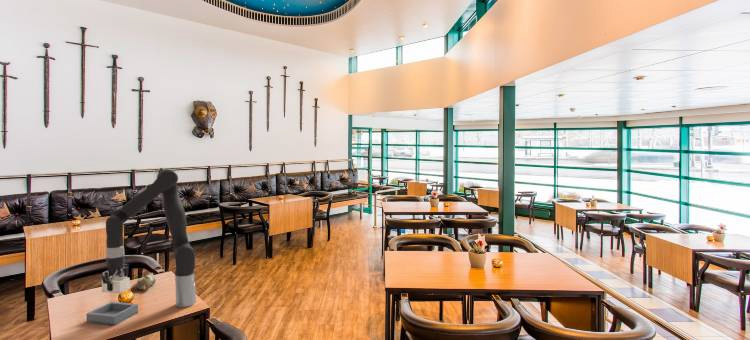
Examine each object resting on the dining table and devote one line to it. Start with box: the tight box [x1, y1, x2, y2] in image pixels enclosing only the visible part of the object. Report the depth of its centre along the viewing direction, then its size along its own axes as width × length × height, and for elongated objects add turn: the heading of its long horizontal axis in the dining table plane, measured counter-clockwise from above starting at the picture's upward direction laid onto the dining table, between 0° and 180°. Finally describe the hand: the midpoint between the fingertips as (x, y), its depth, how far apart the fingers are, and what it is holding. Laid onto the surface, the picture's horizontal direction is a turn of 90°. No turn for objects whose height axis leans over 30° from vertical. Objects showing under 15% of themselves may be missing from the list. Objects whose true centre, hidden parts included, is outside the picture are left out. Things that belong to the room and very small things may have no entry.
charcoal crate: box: [85, 301, 139, 326], centre depth 186 cm, size 14×16×4 cm
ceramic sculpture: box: [130, 272, 156, 291], centre depth 223 cm, size 11×9×15 cm
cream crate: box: [101, 275, 131, 295], centre depth 183 cm, size 6×10×6 cm, turn 81°
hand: (116, 288), depth 183 cm, fingers closed on cream crate, 6 cm apart
